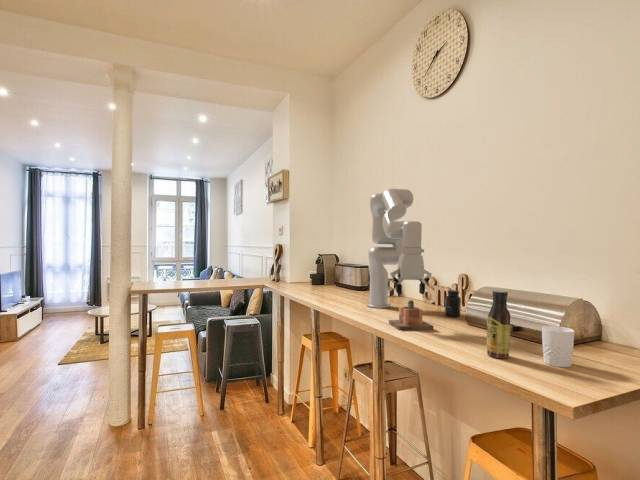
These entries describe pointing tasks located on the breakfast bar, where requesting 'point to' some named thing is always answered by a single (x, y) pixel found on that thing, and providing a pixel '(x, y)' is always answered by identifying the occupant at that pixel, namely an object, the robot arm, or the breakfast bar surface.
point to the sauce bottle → (498, 326)
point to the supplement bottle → (453, 304)
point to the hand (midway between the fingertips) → (410, 293)
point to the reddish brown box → (410, 316)
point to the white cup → (557, 345)
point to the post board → (401, 326)
